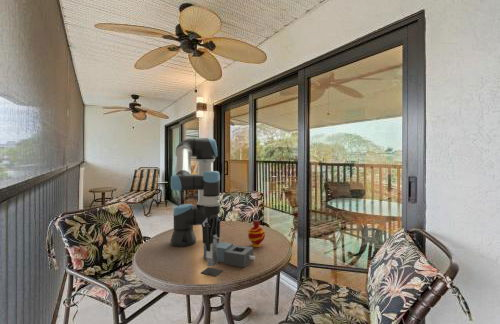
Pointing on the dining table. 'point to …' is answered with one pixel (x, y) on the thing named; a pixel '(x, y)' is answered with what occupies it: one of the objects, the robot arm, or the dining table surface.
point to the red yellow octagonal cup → (256, 234)
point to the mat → (211, 271)
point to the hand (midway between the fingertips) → (211, 256)
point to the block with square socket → (233, 254)
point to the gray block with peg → (213, 252)
